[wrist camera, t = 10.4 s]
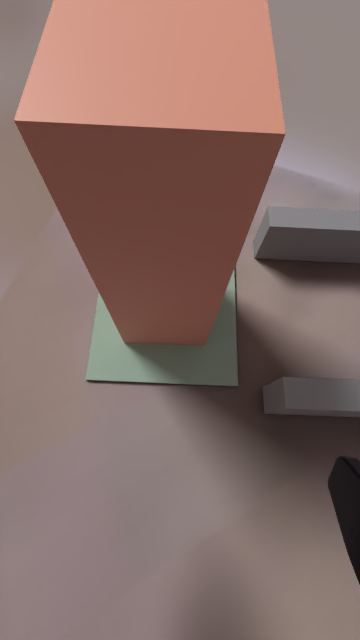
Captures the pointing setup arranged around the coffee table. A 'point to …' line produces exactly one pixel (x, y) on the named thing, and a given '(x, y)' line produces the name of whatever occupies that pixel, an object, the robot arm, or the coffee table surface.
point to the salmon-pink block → (156, 149)
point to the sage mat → (166, 353)
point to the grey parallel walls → (322, 246)
